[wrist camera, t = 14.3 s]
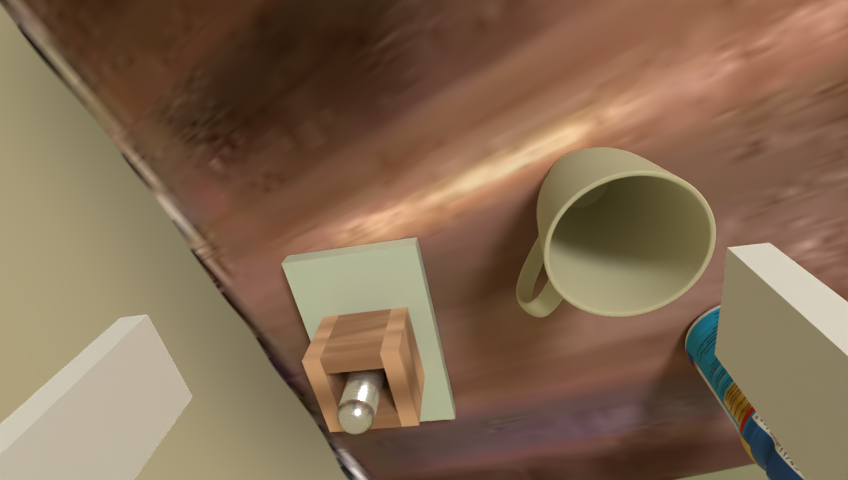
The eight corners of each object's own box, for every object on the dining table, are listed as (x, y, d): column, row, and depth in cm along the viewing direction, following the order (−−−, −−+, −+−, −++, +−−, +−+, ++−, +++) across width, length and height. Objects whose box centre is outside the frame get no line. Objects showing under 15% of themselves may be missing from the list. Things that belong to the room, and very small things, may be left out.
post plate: (287, 255, 41) (281, 263, 39) (417, 237, 39) (415, 244, 37) (346, 416, 49) (342, 427, 48) (455, 407, 47) (455, 418, 46)
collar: (323, 317, 42) (301, 361, 36) (407, 307, 40) (398, 351, 35) (346, 382, 45) (330, 432, 40) (424, 375, 44) (419, 425, 38)
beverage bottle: (785, 287, 38) (1069, 526, 20) (780, 364, 41) (1019, 626, 24) (678, 305, 40) (853, 541, 22) (682, 377, 43) (835, 633, 25)
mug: (510, 125, 34) (530, 174, 23) (647, 119, 33) (734, 167, 22) (506, 253, 39) (522, 343, 28) (626, 252, 38) (690, 344, 27)
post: (355, 336, 42) (327, 416, 34) (386, 332, 42) (366, 413, 33) (363, 361, 43) (338, 444, 35) (393, 358, 43) (375, 441, 34)
